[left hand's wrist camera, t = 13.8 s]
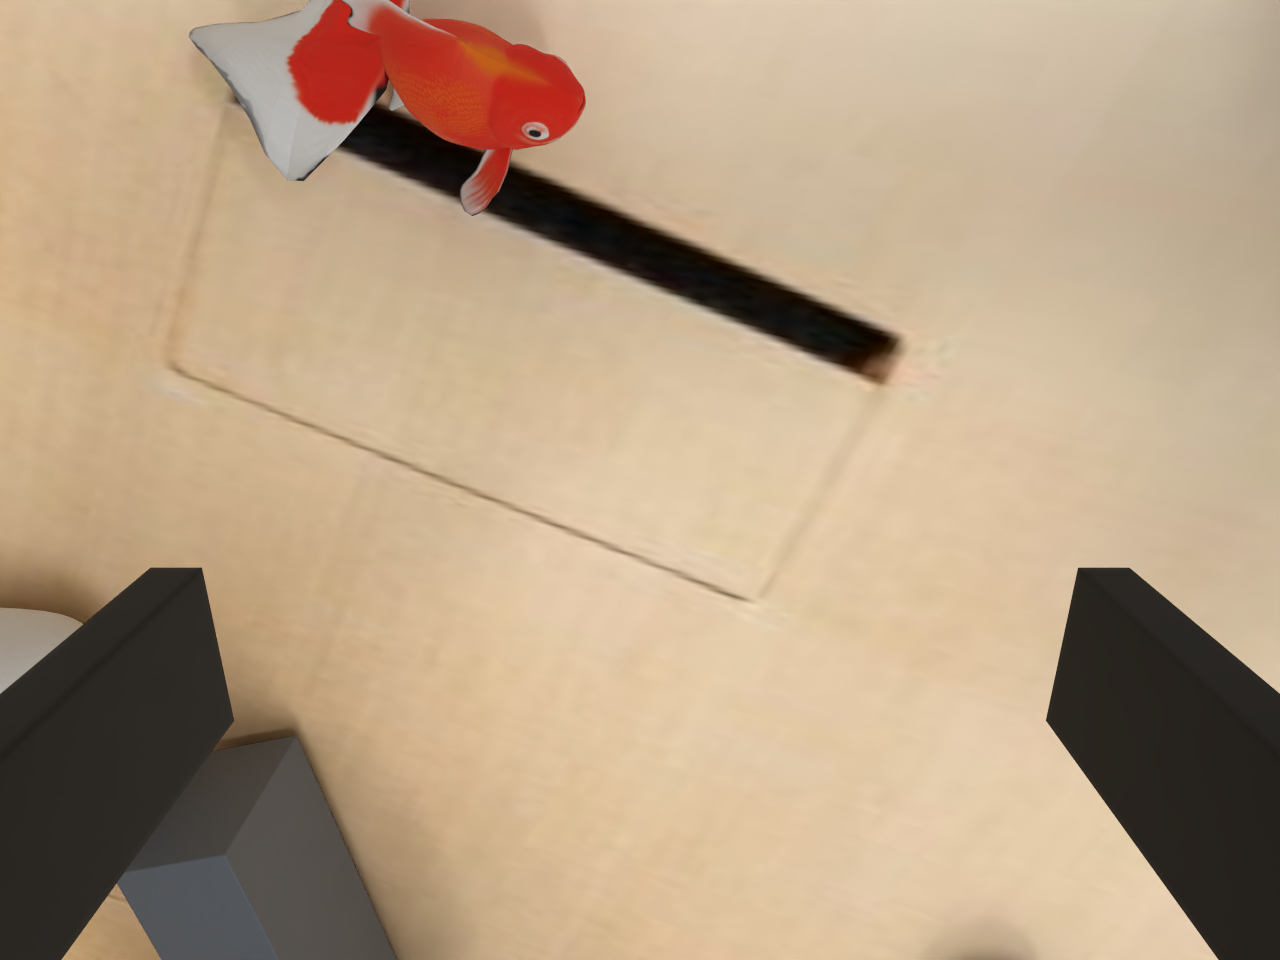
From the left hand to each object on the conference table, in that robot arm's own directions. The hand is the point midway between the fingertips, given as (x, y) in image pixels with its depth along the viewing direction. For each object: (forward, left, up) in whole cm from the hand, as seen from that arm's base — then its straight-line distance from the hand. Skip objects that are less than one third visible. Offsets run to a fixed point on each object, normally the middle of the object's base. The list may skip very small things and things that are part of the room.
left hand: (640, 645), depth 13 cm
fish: (+3, -14, -29) cm, 32 cm away
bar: (+34, +21, -28) cm, 49 cm away
